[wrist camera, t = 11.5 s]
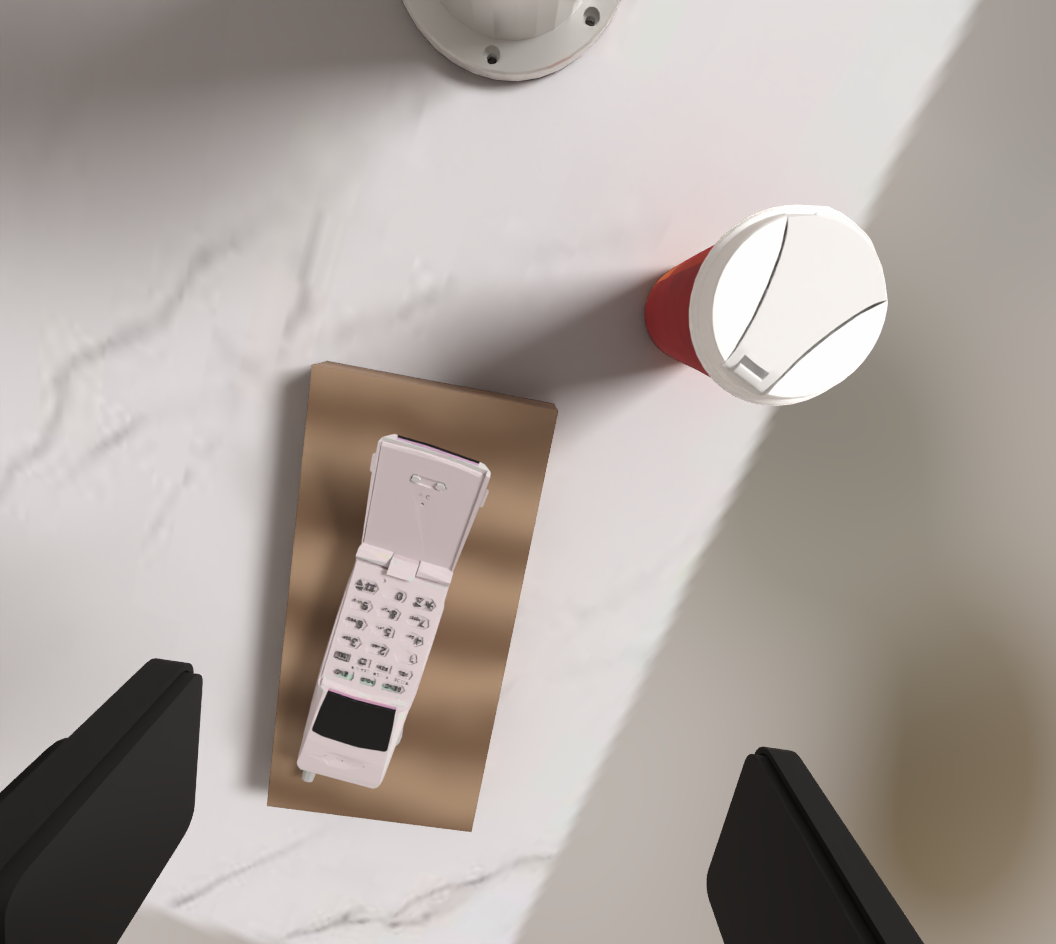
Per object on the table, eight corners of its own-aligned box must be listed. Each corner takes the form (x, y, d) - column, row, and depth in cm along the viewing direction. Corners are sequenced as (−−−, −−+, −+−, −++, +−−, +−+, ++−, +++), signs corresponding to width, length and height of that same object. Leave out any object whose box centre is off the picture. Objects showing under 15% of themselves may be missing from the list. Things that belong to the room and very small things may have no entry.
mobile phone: (497, 467, 29) (361, 866, 34) (500, 444, 34) (383, 788, 40) (376, 428, 28) (257, 840, 34) (400, 410, 34) (295, 764, 39)
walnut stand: (327, 361, 36) (311, 364, 33) (554, 403, 37) (557, 411, 34) (283, 773, 43) (267, 805, 40) (473, 798, 44) (471, 832, 41)
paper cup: (698, 400, 37) (808, 447, 24) (601, 328, 36) (658, 334, 22) (780, 294, 36) (947, 279, 22) (681, 215, 34) (794, 147, 21)
